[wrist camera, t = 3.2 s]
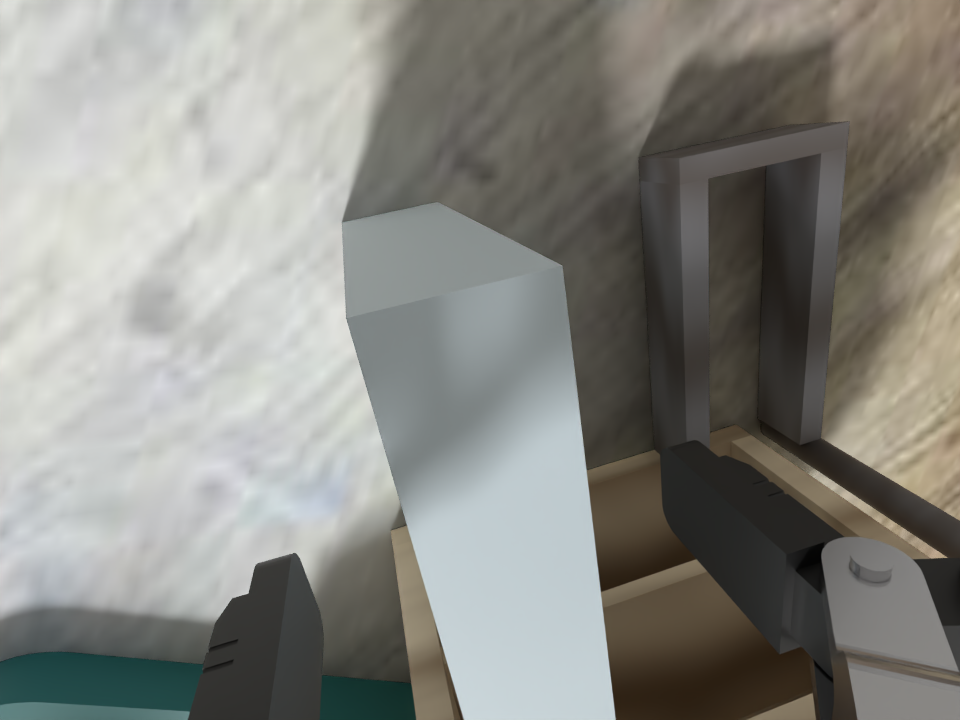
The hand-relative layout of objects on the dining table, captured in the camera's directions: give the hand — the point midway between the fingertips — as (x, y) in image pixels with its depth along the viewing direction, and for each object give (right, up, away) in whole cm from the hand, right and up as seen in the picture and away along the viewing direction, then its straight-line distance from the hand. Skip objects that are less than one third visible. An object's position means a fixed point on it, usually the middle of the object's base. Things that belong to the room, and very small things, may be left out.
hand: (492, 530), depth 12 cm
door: (-2, +4, +8) cm, 9 cm away
